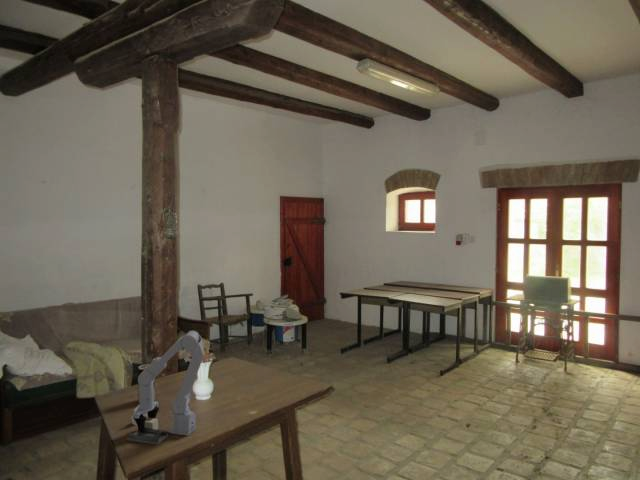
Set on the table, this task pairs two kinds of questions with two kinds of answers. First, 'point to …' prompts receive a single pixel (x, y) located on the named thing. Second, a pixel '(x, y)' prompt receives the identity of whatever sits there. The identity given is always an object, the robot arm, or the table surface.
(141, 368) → the travel mug
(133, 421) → the white wedge bracket
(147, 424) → the module
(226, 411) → the table surface
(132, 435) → the rail mount
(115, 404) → the table surface
